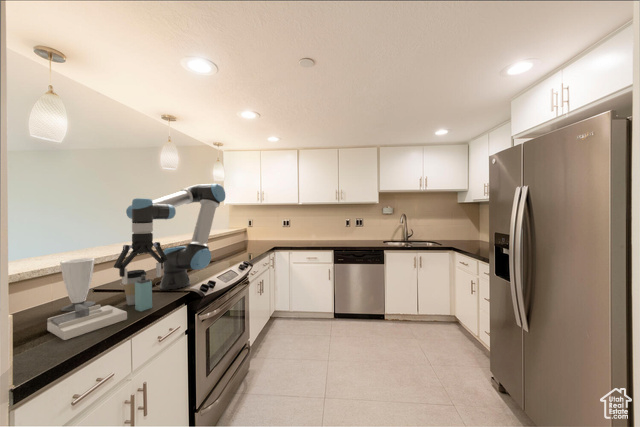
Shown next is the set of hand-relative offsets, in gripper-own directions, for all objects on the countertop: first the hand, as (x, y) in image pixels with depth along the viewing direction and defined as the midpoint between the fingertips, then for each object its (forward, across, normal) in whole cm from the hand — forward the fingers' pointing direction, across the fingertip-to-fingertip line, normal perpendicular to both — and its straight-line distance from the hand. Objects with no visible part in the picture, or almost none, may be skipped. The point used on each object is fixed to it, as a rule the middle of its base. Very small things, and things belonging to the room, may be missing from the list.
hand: (142, 280), depth 107 cm
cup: (+13, +12, -31) cm, 36 cm away
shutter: (+10, +22, -4) cm, 25 cm away
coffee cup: (+13, -2, -12) cm, 18 cm away
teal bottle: (+13, 0, 0) cm, 13 cm away
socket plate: (+13, +17, -2) cm, 22 cm away
